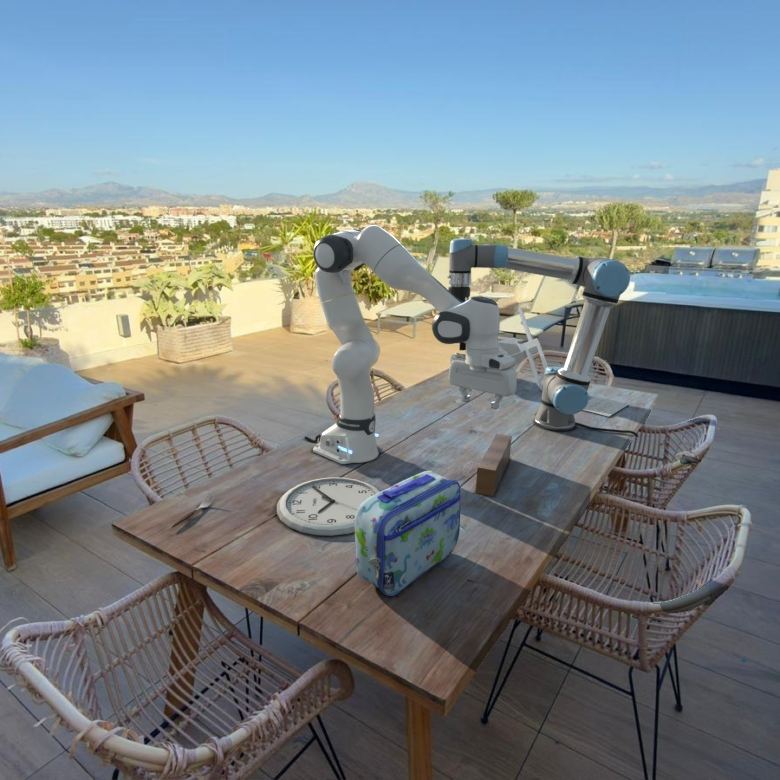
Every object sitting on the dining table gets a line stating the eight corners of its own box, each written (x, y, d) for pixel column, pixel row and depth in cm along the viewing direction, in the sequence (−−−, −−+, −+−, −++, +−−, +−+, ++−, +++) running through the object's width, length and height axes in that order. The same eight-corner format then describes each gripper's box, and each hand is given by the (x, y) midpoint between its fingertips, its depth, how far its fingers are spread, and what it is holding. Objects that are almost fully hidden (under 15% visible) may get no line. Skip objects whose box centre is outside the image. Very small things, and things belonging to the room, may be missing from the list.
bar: (494, 455, 176) (496, 433, 173) (509, 458, 174) (511, 435, 171) (475, 492, 151) (477, 467, 148) (493, 496, 149) (495, 470, 147)
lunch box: (383, 609, 104) (384, 516, 98) (348, 583, 111) (347, 495, 105) (463, 555, 122) (469, 473, 115) (429, 536, 129) (432, 458, 123)
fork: (167, 528, 130) (166, 521, 130) (209, 498, 145) (208, 492, 144) (175, 530, 130) (174, 523, 129) (216, 500, 144) (216, 494, 143)
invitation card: (608, 416, 214) (573, 407, 224) (608, 416, 214) (573, 408, 224) (628, 404, 229) (594, 396, 238) (628, 405, 229) (594, 397, 238)
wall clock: (392, 527, 129) (268, 531, 127) (391, 533, 130) (269, 537, 127) (383, 473, 158) (282, 475, 155) (383, 478, 158) (282, 480, 156)
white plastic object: (488, 419, 266) (468, 396, 241) (469, 346, 288) (449, 319, 263) (559, 395, 254) (545, 368, 229) (533, 321, 276) (519, 290, 251)
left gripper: (444, 353, 147) (443, 400, 151) (508, 364, 134) (506, 415, 138) (457, 350, 152) (456, 395, 156) (520, 360, 139) (518, 409, 143)
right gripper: (438, 282, 191) (437, 339, 197) (460, 289, 167) (458, 354, 174) (458, 281, 192) (456, 338, 198) (482, 289, 169) (479, 353, 175)
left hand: (480, 405), depth 147 cm, fingers open, 8 cm apart
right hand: (457, 346), depth 186 cm, fingers open, 13 cm apart
